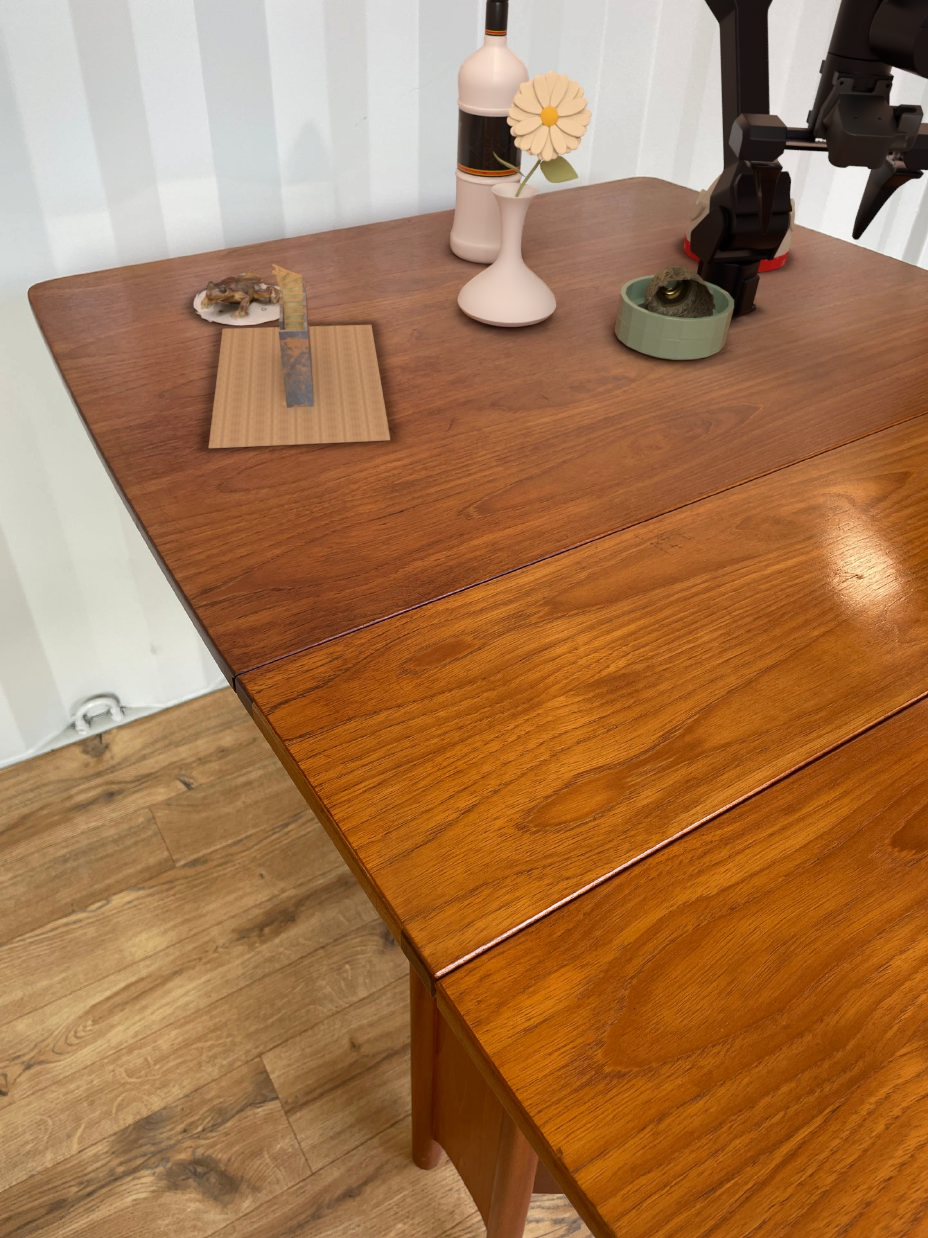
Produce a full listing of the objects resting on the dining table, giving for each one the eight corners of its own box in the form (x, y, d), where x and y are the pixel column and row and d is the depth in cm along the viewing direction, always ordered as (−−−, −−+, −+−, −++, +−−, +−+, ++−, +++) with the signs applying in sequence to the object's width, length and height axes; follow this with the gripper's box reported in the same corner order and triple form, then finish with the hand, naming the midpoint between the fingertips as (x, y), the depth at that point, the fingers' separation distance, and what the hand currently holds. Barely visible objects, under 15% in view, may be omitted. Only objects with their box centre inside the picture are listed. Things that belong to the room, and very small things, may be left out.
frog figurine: (252, 335, 97) (247, 301, 95) (169, 310, 101) (163, 276, 99) (316, 300, 105) (313, 268, 102) (236, 277, 109) (232, 245, 106)
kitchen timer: (785, 241, 125) (817, 122, 115) (788, 277, 115) (824, 150, 105) (685, 230, 127) (708, 112, 117) (680, 264, 117) (705, 139, 107)
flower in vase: (441, 324, 101) (446, 70, 84) (478, 289, 109) (489, 50, 92) (550, 347, 98) (579, 88, 81) (580, 309, 106) (611, 65, 89)
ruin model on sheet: (222, 328, 98) (208, 237, 92) (371, 324, 101) (368, 235, 94) (208, 448, 80) (190, 345, 74) (390, 440, 82) (388, 339, 76)
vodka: (478, 271, 113) (491, -17, 93) (435, 248, 119) (439, -29, 99) (533, 257, 118) (557, -21, 98) (490, 235, 123) (504, -32, 103)
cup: (716, 264, 100) (730, 296, 94) (679, 321, 104) (690, 355, 99) (659, 237, 98) (669, 268, 92) (624, 296, 102) (632, 329, 97)
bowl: (591, 335, 101) (597, 291, 97) (660, 308, 107) (668, 266, 103) (676, 375, 94) (686, 330, 91) (745, 344, 100) (756, 301, 97)
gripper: (774, 68, 73) (729, 260, 83) (1003, 79, 73) (929, 271, 83) (748, 42, 81) (710, 220, 92) (954, 52, 81) (892, 230, 91)
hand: (808, 235), depth 89 cm, fingers open, 9 cm apart
